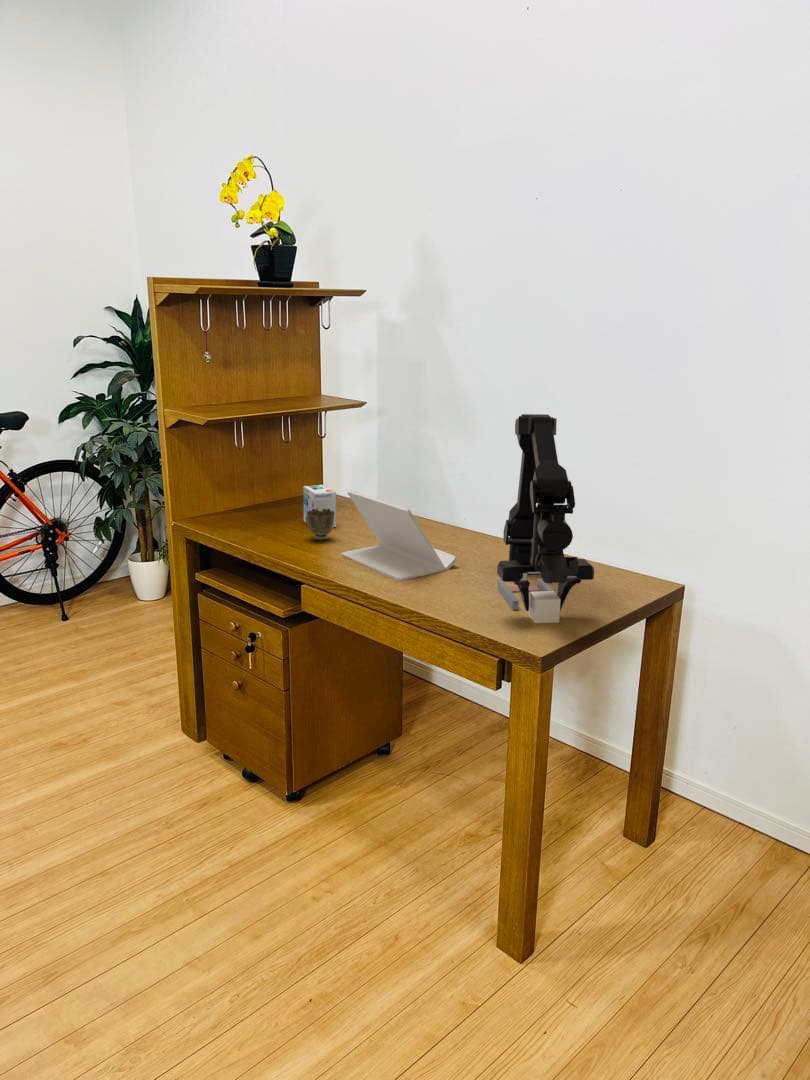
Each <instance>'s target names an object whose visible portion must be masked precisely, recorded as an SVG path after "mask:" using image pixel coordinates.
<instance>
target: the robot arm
mask: <svg viewBox="0 0 810 1080" xmlns="http://www.w3.org/2000/svg"><path fill="white" fill-rule="evenodd" d="M514 422H515V424H514V433H515V436H516V438H517V441H518V447H520V449H521V452H522V453H521V462H520V472H519V481H518V488H517V489H518V491H517V500H516V503H515V504H514V505H513V506H512V508H511V509H510V510H509V513H508V519H506V520H505V524H504V529H503V542H504V544H505V545H507V546H508V545H509V553H508V560H500V561H499V562H498V564H497V567H496V568H497V569H496V570H497V571H496V574H497V575H498V576H499V578H500V580H502V581H504V582H505V583H510V582H511V583H513V584H514V586H518V588H519V590H520V592H519V593H520V597H521V599H522V603H523V606H524V609H525V611H526V612H529V595H530V592H529V586H531V583H530V581H529V580H528V576H533V575H534V576H535V575H536V576H537V575H538V576H539V575H541V579H542V580H543V581H544V582H545V583H547V584H548V585H551V584H552V583H553V584H554V583H557V593H556V594H557V596H558V597H559V598H560V599H561V601H560V611H561V610H562V607H563V606H564V604H565V601H566V600H567V599H566V598H567V596H568V594H569V592H570V591H571V589H572V588H573V587H574V586H576V585H578V584H581V583H582V581H589V580H590V581H592V580H594V578H595V567H593V566H592V564H591V563H589V561H587V560H586V559H585V558H578V557H577V556H565V554H564V550H565V549H566V548H568V547H569V546H570V545H571V543H572V541H573V538H574V535H573V534H574V533H573V530H572V528H571V527H570V526H569V524H568V523H567V521H566V514H567V515H568V514H571V515H573V514H574V509H575V507H576V497H575V492H574V486H573V485H572V481H571V480H569V477H568V474H567V469H565V467H564V466H562V465H561V464H560V463H559V460H558V455H557V446H556V440H555V436H556V435H557V424H558V423H557V418H555V417H553V416H550V414H542V413H541V414H535V413H534V414H533V413H532V414H531V413H530V414H529V413H525V414H524V413H521V415H519V416H518V418H516V419H515V421H514ZM565 503H566V504H565Z"/></svg>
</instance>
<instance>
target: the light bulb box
mask: <svg viewBox="0 0 810 1080" xmlns="http://www.w3.org/2000/svg"><path fill="white" fill-rule="evenodd" d="M302 489H303V491H302V492H303V493H302V494H303V498H302V499H303V522H304V523H305V524H306V523H307V525H308V518H307V511H308V512H309V510H310V511H311V510H312V509H315V510H316V509H318V511H319V512H320V511H321V512H322V511H323V509H326V510H327V509H330V510H331V512H332V510H333V512H335V513H334V522H333V527H336V528H337V490H336V491H335V490H334V489H332V488H331V487H328V486H327V485H325V484H317V485H304V486H302Z"/></svg>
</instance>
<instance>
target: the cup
mask: <svg viewBox="0 0 810 1080" xmlns="http://www.w3.org/2000/svg"><path fill="white" fill-rule="evenodd" d="M334 513H335V512H333V510H332V512H331V510H330V509H327V510H326V509H323V511H322V512H321V511H320V512H319V511H318V509H316V510H315V509H312V510H311V511H310V510H309V512H308V511H307V518H308V524H307V526H308V528H309V531H310V532H311V533H312V534H313V535H314V536H313V538H314V540H315V541H317V540H319V541H318V542H324V541H323V540H325V541H327V540H328V538H329V536H328V534H330V533H331V532H332V531H333V529H334V528H333V522H334Z"/></svg>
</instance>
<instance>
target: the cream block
mask: <svg viewBox="0 0 810 1080" xmlns="http://www.w3.org/2000/svg"><path fill="white" fill-rule="evenodd" d="M555 593H556V592H555V591H554V590H553V591H535V592H529V611H527V612H528V615H529V617H530V618H531V620H532V621H533V623H534V624H544V623H545V624H547V623H560V613H561V610H560V601H561V599H560V598H559V597H558V596H557V595H556V594H557V593H556V594H555Z"/></svg>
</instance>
